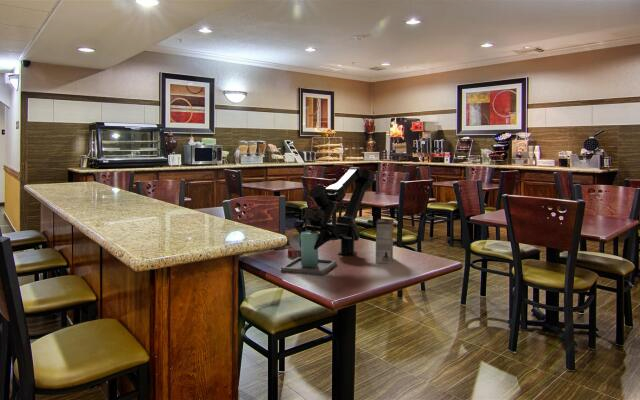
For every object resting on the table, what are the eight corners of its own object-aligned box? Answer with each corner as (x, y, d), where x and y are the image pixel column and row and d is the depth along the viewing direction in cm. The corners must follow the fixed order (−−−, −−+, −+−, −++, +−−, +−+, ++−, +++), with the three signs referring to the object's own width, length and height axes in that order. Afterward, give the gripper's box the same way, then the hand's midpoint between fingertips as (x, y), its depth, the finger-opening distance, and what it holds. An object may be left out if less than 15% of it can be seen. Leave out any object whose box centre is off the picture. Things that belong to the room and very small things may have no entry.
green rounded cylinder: (313, 261, 176) (312, 230, 175) (321, 265, 171) (321, 233, 169) (298, 263, 173) (297, 232, 171) (306, 267, 167) (305, 235, 166)
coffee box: (377, 257, 188) (377, 218, 186) (393, 258, 186) (393, 218, 184) (375, 263, 179) (375, 222, 177) (391, 263, 177) (392, 222, 175)
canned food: (307, 263, 196) (318, 243, 196) (304, 267, 186) (316, 246, 186) (284, 251, 197) (295, 230, 196) (280, 254, 187) (291, 232, 186)
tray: (298, 261, 182) (298, 257, 182) (336, 264, 177) (336, 260, 176) (281, 271, 167) (281, 267, 167) (322, 275, 162) (322, 271, 162)
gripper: (295, 199, 177) (277, 232, 170) (336, 203, 167) (319, 238, 159) (308, 216, 185) (291, 249, 177) (347, 221, 174) (331, 255, 167)
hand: (307, 247), depth 170 cm, fingers closed on green rounded cylinder, 6 cm apart
